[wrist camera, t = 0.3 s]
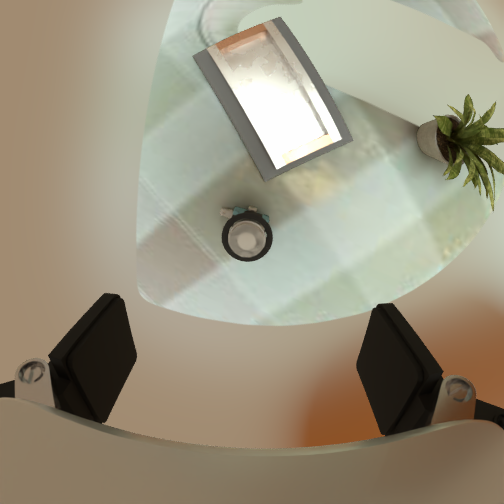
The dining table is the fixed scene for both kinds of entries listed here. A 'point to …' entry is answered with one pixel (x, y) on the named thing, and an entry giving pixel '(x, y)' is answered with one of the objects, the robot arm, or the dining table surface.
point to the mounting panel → (242, 120)
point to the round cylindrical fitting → (246, 234)
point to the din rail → (275, 93)
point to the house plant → (463, 145)
